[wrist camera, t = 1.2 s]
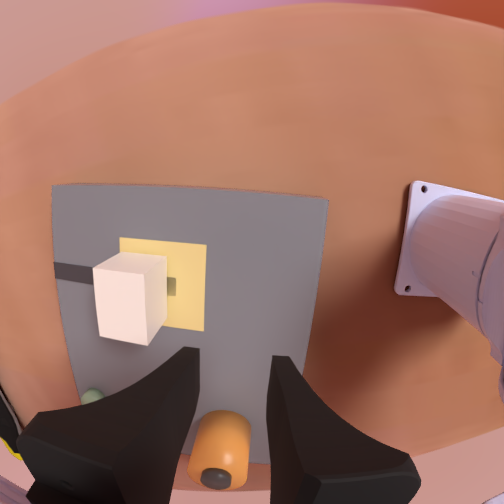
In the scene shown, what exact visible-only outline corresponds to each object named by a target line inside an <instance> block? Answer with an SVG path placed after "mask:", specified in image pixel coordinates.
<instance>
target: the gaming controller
mask: <svg viewBox="0 0 504 504" xmlns="http://www.w3.org/2000/svg"><path fill="white" fill-rule="evenodd" d="M22 431H23V430H22V428H21V426H20V425H19V423H18V421H17V418H16V416H15V412H14V409H13V407H12V406H11V405H10V403H9V402H7V401H6V399H5V397H4V396H3V394H2V392H1V390H0V438H1V439H2V441H3V442H4V444H5V446H6V447H7V448H8V450H9V452H10V453H11V454H12V455H13V456H14V457H16V458H17V459H19V460H23V459H22V457H21V456H20V453H19V451H18V449H17V444H16V440H17V438H18V436H19V435H20V434H21V432H22Z"/></svg>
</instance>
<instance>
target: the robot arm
mask: <svg viewBox="0 0 504 504" xmlns="http://www.w3.org/2000/svg"><path fill="white" fill-rule="evenodd" d="M422 186H424V187H425V191H424V192H422V191H421V188H422ZM408 285H409V288H408V290H406V291H405V287H406V286H408ZM394 290H395V292H396V293H397V294H398V295H409V296H428V297H439V298H440V299H442V300H443V301H444V302H445V303H446V304H448V305H449V306H450V307H451V308H452V309H454V310H455V311H456V312H457V313H458V314H460V315H461V316H462V317H463V318H464V319H466V320H467V321H468V322H469V323H470V324H471V325H473V326H474V327H475V328H476V329H477V330H478V331H480V332H481V333H482V334H483V335H484V336H485V337H486V338H487V339H488V340H489V342H490V345H491V353H490V355H491V356H492V357H493V358H494V359H495V360H496V361H497V362H498V363H499V364H500V365H501V366H503V367H502V368H501V373H500V377H499V393H500V397H501V399H502V402H503V404H504V201H503V200H499V199H495V198H492V197H488V196H484V195H480V194H476V193H472V192H468V191H464V190H459V189H455V188H451V187H446V186H442V185H437V184H432V183H427V182H423V181H413V182H412V183H411V184H410V190H409V199H408V207H407V215H406V222H405V229H404V236H403V242H402V248H401V254H400V259H399V265H398V270H397V275H396V280H395V285H394ZM199 393H200V348H194V347H186V346H184V347H182V348H181V349H180V350H179V351H177V352H176V353H175V354H174V355H173V356H171V357H170V358H169V359H168V360H167V361H165V362H164V363H163V364H162V365H160V366H159V367H158V368H156V369H155V370H154V371H152V372H151V373H150V374H148V375H147V376H145V377H144V378H142V379H141V380H139V381H138V382H136V383H134V384H132V385H131V386H129V387H127V388H125V389H123V390H121V391H119V392H117V393H115V394H112V395H110V396H107V397H104V398H102V399H99V400H96V401H94V402H90V403H87V404H84V405H80V406H76V407H71V408H66V409H60V410H53V411H45V412H38V413H37V414H36V416H35V417H34V418H33V419H32V420H31V421H30V423H29V424H28V425H27V426H26V428H25V429H24V430H23V431H22V432H21V434H20V435H19V436H18V438H17V440H16V444H17V449H18V451H19V453H20V456H21V457H22V459H23V461H24V463H25V464H26V466H27V467H28V469H29V470H30V472H31V474H32V475H33V477H34V478H35V482H34V483H33V485H32V486H31V488H30V489H29V491H26V490H24V489H22V488H21V487H19V486H17V485H15V484H14V483H12V482H10V481H9V480H7V479H5V478H4V477H2V476H1V475H0V504H169V501H170V496H171V492H172V487H173V482H174V477H175V473H176V468H177V464H178V460H179V457H180V454H181V451H182V448H183V445H184V443H185V440H186V437H187V434H188V432H189V429H190V426H191V423H192V420H193V418H194V415H195V412H196V407H197V403H198V398H199ZM266 424H267V434H268V444H269V454H270V463H271V496H270V504H408V503H409V502H410V501H411V500H412V498H413V497H414V496H415V494H416V493H417V491H418V490H419V488H420V486H421V479H420V476H419V474H418V472H417V470H416V467H415V464H414V463H413V461H412V459H411V457H410V456H409V454H408V453H405V452H402V451H400V450H397V449H395V448H392V447H390V446H387V445H385V444H383V443H381V442H379V441H377V440H375V439H373V438H371V437H369V436H367V435H366V434H364V433H362V432H361V431H359V430H357V429H356V428H355V427H353V426H352V425H350V424H349V423H347V422H346V421H345V420H343V419H342V418H341V417H339V416H338V415H337V414H336V413H335V412H334V411H333V410H331V409H330V408H329V407H328V406H327V405H326V404H325V403H324V402H323V401H322V400H321V399H320V398H319V396H318V395H317V394H316V393H315V392H314V391H313V389H312V388H311V387H310V386H309V384H308V383H307V382H306V380H305V379H304V378H303V376H302V375H301V373H300V372H299V371H298V369H297V367H296V366H295V364H294V363H293V361H292V359H291V358H290V357H289V356H278V355H272V362H271V369H270V377H269V384H268V391H267V402H266ZM482 504H504V492H503V493H502V494H499V495H497V496H495V497H493V498H491V499H489V500H487V501H485V502H484V503H482Z"/></svg>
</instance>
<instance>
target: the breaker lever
mask: <svg viewBox="0 0 504 504" xmlns="http://www.w3.org/2000/svg"><path fill="white" fill-rule="evenodd" d="M93 279H94V291H95V301H96V311H97V319H98V327H99V334H100V336H102V337H106V338H111V339H116V340H120V341H125V342H130V343H136V344H141V345H146V346H148V345H149V343H150V342H151V341H152V339H153V338H154V336H155V335H156V333H157V332H158V330H159V329H160V328H161V326H162V325H163V323H164V322H165V320H166V319H167V256H160V255H150V254H140V253H130V252H120V253H118V254H117V255H115V256H113V257H111V258H109V259H108V260H106V261H104V262H102V263H101V264H99V265H97V266H95V267H94V268H93Z"/></svg>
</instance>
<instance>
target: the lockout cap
mask: <svg viewBox="0 0 504 504" xmlns="http://www.w3.org/2000/svg"><path fill="white" fill-rule="evenodd" d="M250 439H251V425H250V423H249V421H248V420H247V419H246V418H245V417H243V416H242V415H240V414H238V413H236V412H233V411H228V410H215V411H211V412H209V413H207V414H205V415H204V416H203V417H202V419H201V421H200V425H199V428H198V432H197V435H196V439H195V443H194V446H193V450H192V453H191V457H190V460H189V464H188V468H187V473H188V475H189V477H190V478H191V479H192V480H193V481H195V482H196V483H198V484H200V485H202V486H204V487H207V488H210V489H215V490H232V489H236V488H239V487H241V486H242V485H244V484H245V482H246V480H247V472H248V461H249V450H250Z"/></svg>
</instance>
